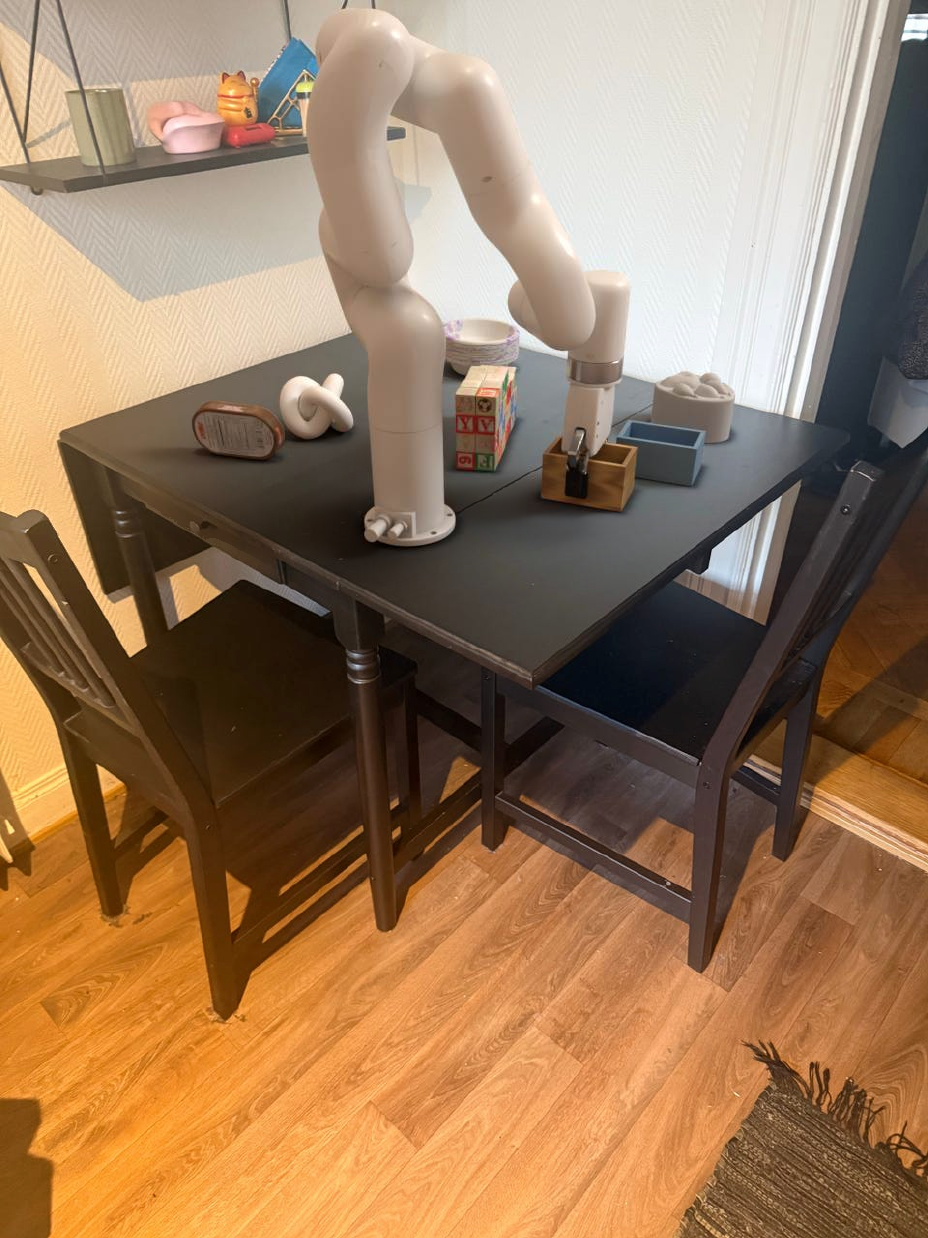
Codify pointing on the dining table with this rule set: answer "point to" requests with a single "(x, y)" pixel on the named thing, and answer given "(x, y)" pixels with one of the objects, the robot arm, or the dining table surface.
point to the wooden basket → (592, 475)
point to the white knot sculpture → (314, 406)
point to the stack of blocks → (484, 416)
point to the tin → (238, 430)
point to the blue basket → (664, 451)
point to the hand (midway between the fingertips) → (585, 482)
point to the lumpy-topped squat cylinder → (694, 404)
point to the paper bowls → (480, 343)
